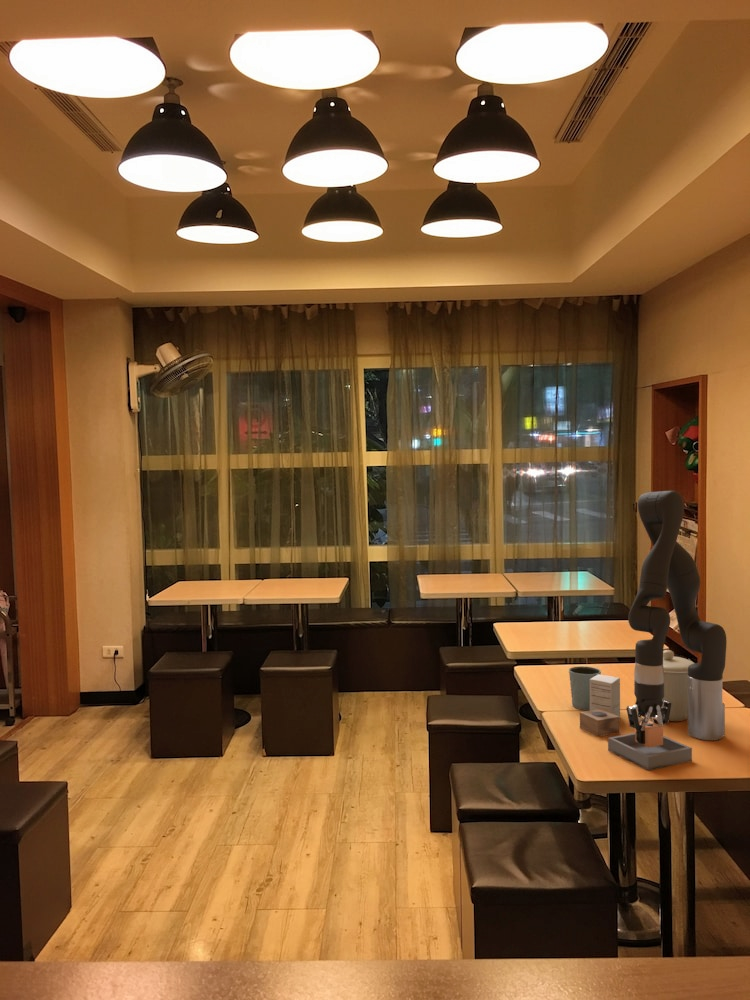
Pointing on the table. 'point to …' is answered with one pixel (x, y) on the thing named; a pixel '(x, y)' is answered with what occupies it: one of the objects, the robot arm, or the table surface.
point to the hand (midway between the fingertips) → (649, 741)
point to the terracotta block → (652, 734)
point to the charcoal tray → (650, 752)
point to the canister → (676, 685)
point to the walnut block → (599, 722)
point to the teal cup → (581, 685)
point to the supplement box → (605, 693)
